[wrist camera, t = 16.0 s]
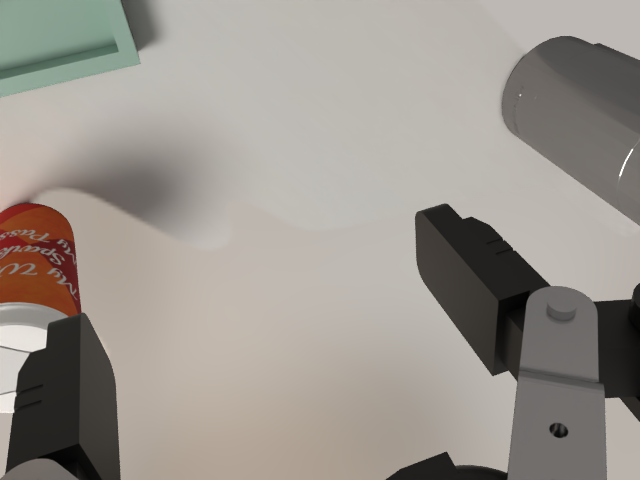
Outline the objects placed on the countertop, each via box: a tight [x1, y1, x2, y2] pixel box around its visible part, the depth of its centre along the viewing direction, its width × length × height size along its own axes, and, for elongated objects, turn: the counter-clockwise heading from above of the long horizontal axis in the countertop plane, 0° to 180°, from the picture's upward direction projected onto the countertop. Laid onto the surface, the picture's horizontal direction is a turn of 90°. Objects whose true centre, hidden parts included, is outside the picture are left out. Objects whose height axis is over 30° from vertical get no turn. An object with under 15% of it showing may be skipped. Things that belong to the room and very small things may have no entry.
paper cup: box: [0, 203, 82, 413], centre depth 38 cm, size 8×8×14 cm
